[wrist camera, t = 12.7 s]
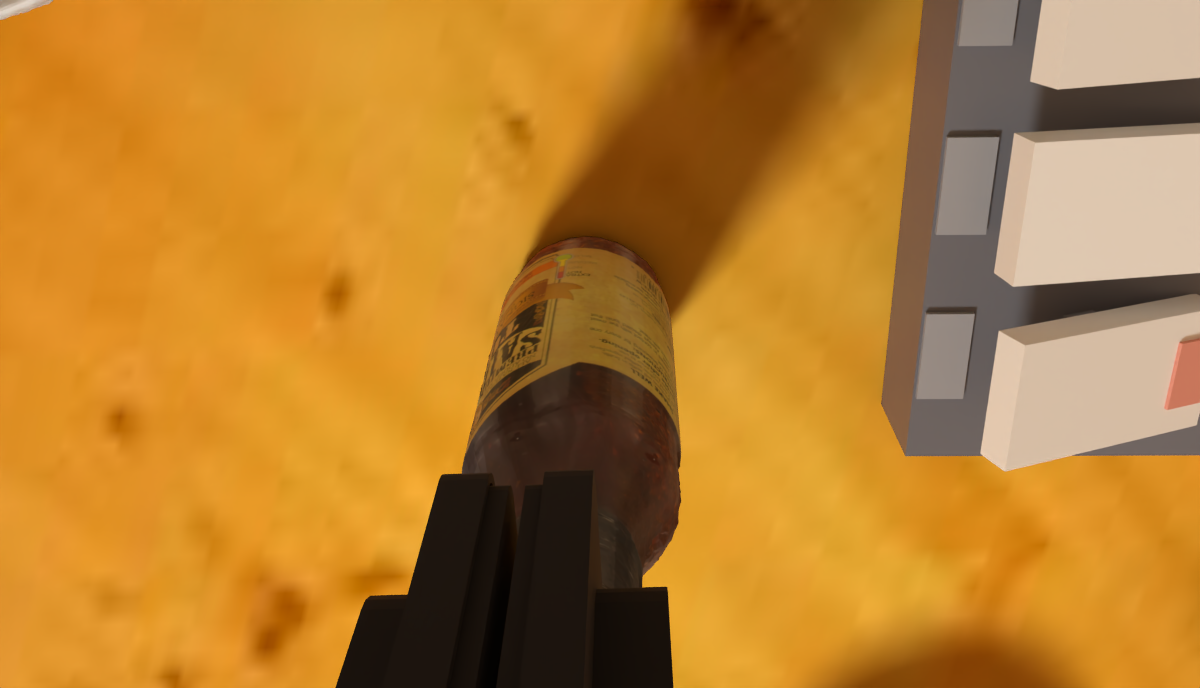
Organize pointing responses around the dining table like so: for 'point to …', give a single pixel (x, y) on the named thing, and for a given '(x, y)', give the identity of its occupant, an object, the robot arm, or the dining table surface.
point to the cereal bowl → (19, 6)
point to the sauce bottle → (587, 396)
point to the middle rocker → (1101, 205)
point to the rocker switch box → (992, 221)
